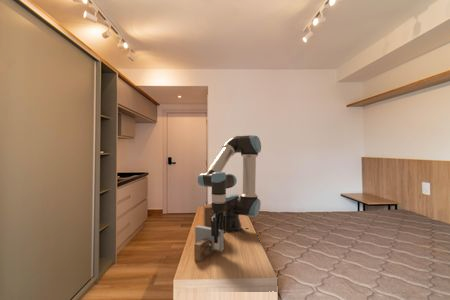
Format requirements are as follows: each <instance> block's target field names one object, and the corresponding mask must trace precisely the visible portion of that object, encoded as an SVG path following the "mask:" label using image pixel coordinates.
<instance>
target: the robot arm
mask: <svg viewBox="0 0 450 300" xmlns="http://www.w3.org/2000/svg"><path fill="white" fill-rule="evenodd" d="M261 152H262V144H261V139H260V138H259V136H258V135H236V136H233V137H230V139H229V140H227V141H226V142H225V143H224V144H223V145H222V146H221V150H220V152H219V153H218V154H217V156H216V157H215V159H214V160H213V162H212V163H211V165H210V166H209V167H208V168H207V170H206V172H203V173H200V174H198V176H197V183H198V185H199V186H201V187H206V188H207V187H208V188H211V204H212V210H213V211H214V213H213V217H210V220H211V235H212V236H214V249H218V250H219V249H220V236H219V229H221V230H224V234H226V233H227V232H228V233H232V232H233V233H235V232H238V231H241V230H242V223H241V220H240V217H239V216H244V217H245V216H247V217H257V215H259V212H260V210H261V199H259V198H258V195H257V193H256V165H257V161H256V160H257V157H258V156H259V153H261ZM239 153H240V156H241V157H242V160H243V161H242V193H241V194H240V195H239V194H237V193H236V194H228V195H227V189H231V188H234V187H235V186H236V185H237V177H236V176H235V174H232V173H228V174H226V172H225V171H223V170H224V169H225V166H226V165H227V164H228V162H229V160H230V159H231V157H234V155H235V154H239Z"/></svg>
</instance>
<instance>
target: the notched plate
mask: <svg viewBox="0 0 450 300" xmlns="http://www.w3.org/2000/svg"><path fill="white" fill-rule="evenodd" d="M224 232H225V231H224V230H221V229H219V236H220V249H219V250H218V249H214V236H212V235H211V228H210V227H205V226H204V225H196V226H195V227H194V244H195V243H197V242H199V241H201V240H202V239H204V238H205V239H209V241H212V249H213V250H215V251H218V252H222V251H223V250H224V248H225V247H224V246H225V245H224V240H225V239H224V238H225V237H224V236H225V235H224Z"/></svg>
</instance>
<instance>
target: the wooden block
mask: <svg viewBox="0 0 450 300" xmlns="http://www.w3.org/2000/svg"><path fill="white" fill-rule="evenodd" d="M213 213H214V211H213V210H212V203H205V204H203V226H205V227H210V228H211V220H210V217H213Z"/></svg>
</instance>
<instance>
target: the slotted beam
mask: <svg viewBox="0 0 450 300" xmlns="http://www.w3.org/2000/svg"><path fill="white" fill-rule="evenodd" d="M193 250H194V261H195V262H201V261H202V260H204V259H205V258H207V257H208V256H209V255H211V254H212V253H214V252H215V251H216V250H213V249H212V241H209V239H205V238H204V239H202V240H201V241H199V242H197V243H195V242H194V249H193Z"/></svg>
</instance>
